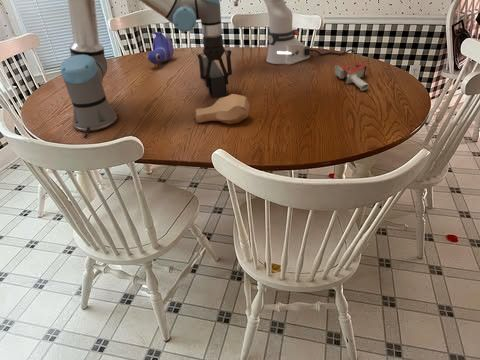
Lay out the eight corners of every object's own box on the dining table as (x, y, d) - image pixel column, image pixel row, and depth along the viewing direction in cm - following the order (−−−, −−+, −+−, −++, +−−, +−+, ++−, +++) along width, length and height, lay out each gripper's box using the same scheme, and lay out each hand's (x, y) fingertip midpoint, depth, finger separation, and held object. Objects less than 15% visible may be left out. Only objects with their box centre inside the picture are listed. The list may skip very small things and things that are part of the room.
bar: (225, 96, 147) (224, 76, 142) (213, 97, 146) (211, 78, 141) (213, 74, 169) (211, 56, 164) (202, 75, 168) (200, 58, 163)
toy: (162, 64, 198) (141, 70, 176) (157, 31, 191) (135, 33, 169) (178, 63, 196) (160, 69, 173) (174, 30, 189) (154, 32, 167)
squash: (253, 125, 125) (249, 104, 119) (198, 134, 127) (191, 114, 121) (250, 107, 133) (246, 86, 126) (198, 116, 134) (192, 96, 128)
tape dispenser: (364, 96, 143) (378, 76, 155) (367, 83, 139) (381, 65, 152) (323, 87, 150) (339, 69, 163) (324, 75, 147) (341, 57, 159)
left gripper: (233, 30, 140) (237, 86, 154) (187, 35, 137) (194, 92, 150) (238, 34, 134) (241, 93, 148) (189, 40, 131) (197, 99, 144)
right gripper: (245, -33, 149) (246, 3, 158) (197, -29, 146) (201, 8, 154) (249, -32, 144) (250, 6, 153) (199, -27, 141) (203, 11, 149)
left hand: (217, 92), depth 149 cm, fingers closed on bar, 5 cm apart
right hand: (225, 7), depth 153 cm, fingers open, 8 cm apart
